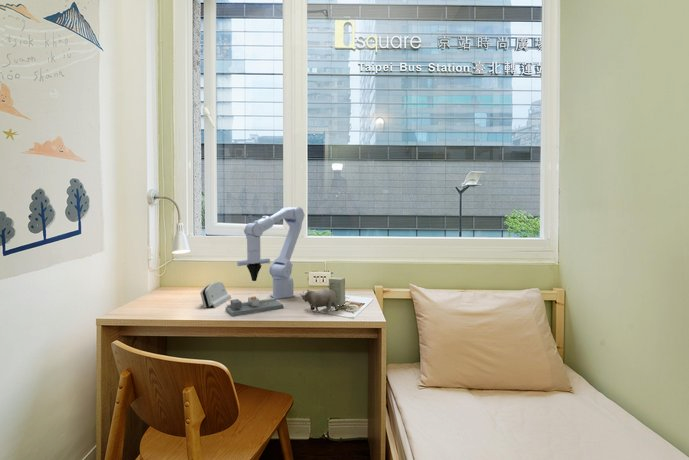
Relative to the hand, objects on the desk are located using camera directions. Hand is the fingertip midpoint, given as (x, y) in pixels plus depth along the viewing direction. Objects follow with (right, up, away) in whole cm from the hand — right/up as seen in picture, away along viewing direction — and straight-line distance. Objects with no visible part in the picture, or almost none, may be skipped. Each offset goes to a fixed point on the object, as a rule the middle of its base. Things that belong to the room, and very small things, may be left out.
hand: (254, 280), depth 166 cm
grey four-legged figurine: (+29, -12, -9) cm, 33 cm away
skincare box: (+37, -11, -1) cm, 39 cm away
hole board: (+2, -11, -8) cm, 14 cm away
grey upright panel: (-18, -11, +1) cm, 21 cm away
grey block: (+2, -9, -9) cm, 13 cm away
